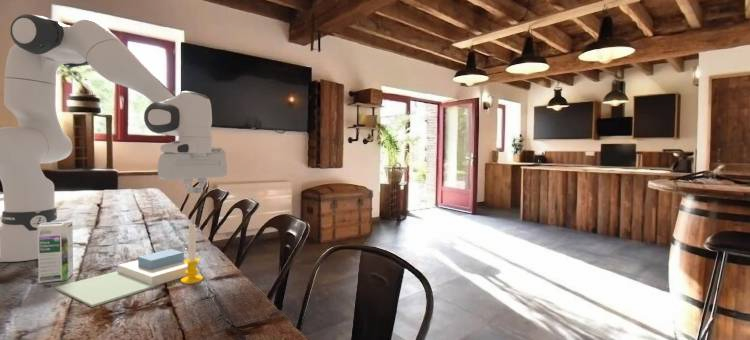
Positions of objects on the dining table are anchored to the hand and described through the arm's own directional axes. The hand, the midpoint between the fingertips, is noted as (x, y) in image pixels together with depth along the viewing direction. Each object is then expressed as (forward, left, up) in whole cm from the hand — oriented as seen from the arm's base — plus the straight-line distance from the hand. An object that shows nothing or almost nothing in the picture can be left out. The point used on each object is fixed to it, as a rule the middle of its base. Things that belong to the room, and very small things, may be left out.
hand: (195, 193), depth 105 cm
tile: (0, -10, -19) cm, 21 cm away
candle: (+12, -9, -21) cm, 26 cm away
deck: (0, -11, -21) cm, 24 cm away
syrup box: (-17, -27, -21) cm, 38 cm away
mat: (0, -23, -21) cm, 32 cm away
